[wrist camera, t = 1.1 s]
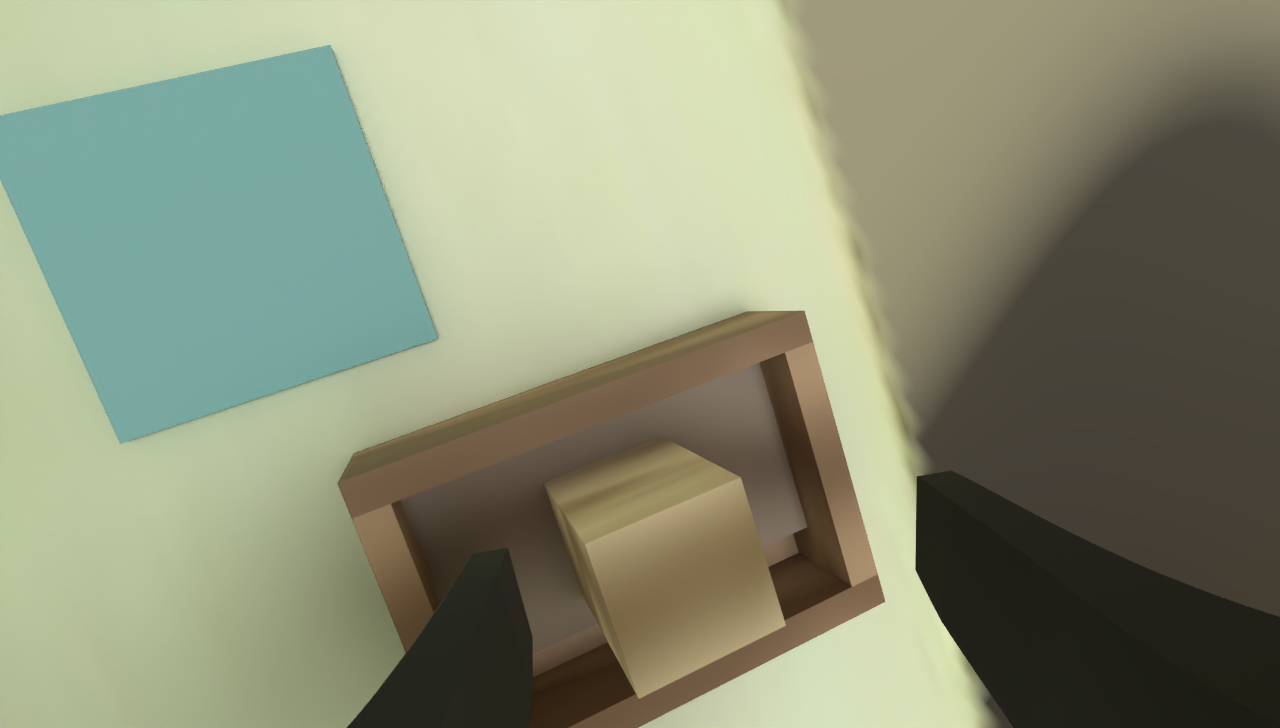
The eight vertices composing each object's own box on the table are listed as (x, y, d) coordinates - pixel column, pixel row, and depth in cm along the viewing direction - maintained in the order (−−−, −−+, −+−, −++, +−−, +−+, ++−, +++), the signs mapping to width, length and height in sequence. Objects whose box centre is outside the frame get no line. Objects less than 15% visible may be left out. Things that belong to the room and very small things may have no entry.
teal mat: (438, 338, 22) (438, 338, 22) (127, 440, 20) (120, 443, 19) (332, 51, 21) (330, 44, 20) (-15, 126, 18) (-26, 121, 18)
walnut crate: (820, 560, 27) (885, 601, 23) (464, 730, 23) (470, 812, 19) (747, 311, 25) (804, 310, 21) (354, 453, 22) (337, 483, 18)
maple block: (697, 548, 23) (786, 625, 17) (584, 598, 22) (638, 699, 16) (661, 436, 22) (740, 477, 17) (543, 482, 21) (585, 544, 16)
